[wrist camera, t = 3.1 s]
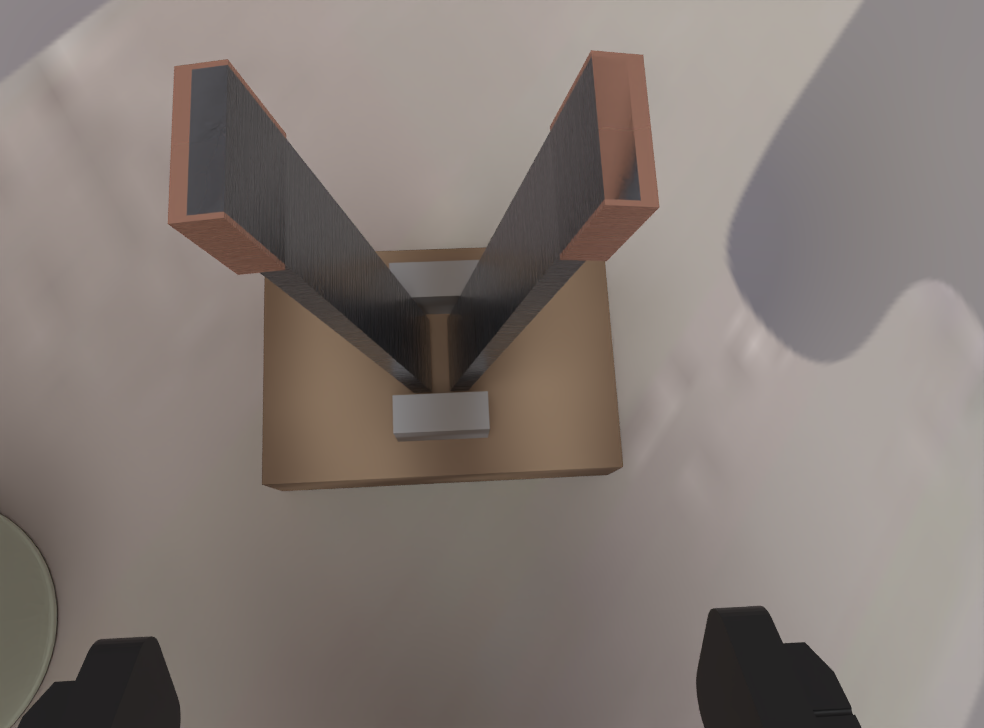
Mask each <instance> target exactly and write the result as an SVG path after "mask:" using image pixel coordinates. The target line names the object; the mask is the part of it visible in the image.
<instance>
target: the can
mask: <svg viewBox="0 0 984 728" xmlns="http://www.w3.org/2000/svg"><path fill="white" fill-rule="evenodd" d="M56 627H57V604H56V597H55V590H54V586H53V583H52V579H51V576H50V573H49V570H48V568H47V565H46V563H45V561H44V559H43V557H42V555H41V554H40V552H39V550H38V549H37V547H36V546H35V545H34V543H33V542H32V541H31V539H30V538H29V537H28V536H27V535H26V534H25V533H24V532H23V531H22V530H21V529H20V528H19V527H18V526H17V525H16V524H14V523H13V522H12V521H11V520H9V519H8V518H6V517H4V516H3V515H1V514H0V728H10V727H11V726H12V725H13V724H14V723H15V721H16V720H17V719H18V718H19V717H20V715H21V714H22V713H23V712H24V710H25V709H26V707H27V706H28V705H29V703H30V702H31V700H32V698H33V697H34V695H35V694H36V692H37V690H38V688H39V686H40V684H41V682H42V680H43V678H44V676H45V673H46V671H47V668H48V665H49V662H50V659H51V656H52V652H53V647H54V643H55V636H56Z"/></svg>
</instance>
